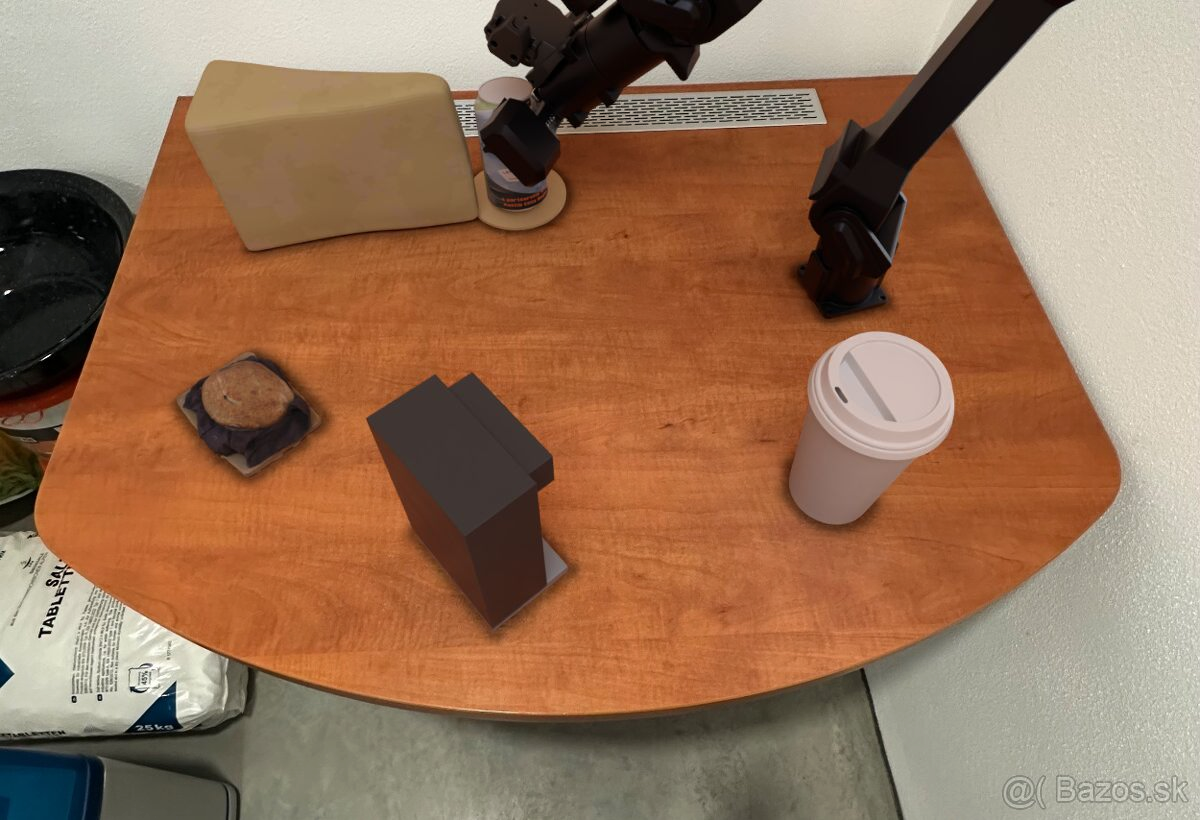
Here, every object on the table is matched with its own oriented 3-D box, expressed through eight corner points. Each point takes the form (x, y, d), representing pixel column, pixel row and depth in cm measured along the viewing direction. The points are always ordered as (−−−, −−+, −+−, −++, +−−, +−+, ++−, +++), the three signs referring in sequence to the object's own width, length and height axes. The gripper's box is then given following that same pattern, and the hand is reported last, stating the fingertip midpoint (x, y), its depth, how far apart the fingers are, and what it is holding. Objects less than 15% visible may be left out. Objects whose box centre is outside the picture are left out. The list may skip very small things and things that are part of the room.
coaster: (550, 155, 85) (550, 152, 85) (578, 218, 80) (578, 215, 80) (458, 173, 83) (457, 170, 83) (480, 239, 78) (480, 236, 78)
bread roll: (172, 407, 67) (151, 381, 64) (259, 349, 70) (243, 323, 67) (241, 485, 63) (223, 462, 60) (330, 421, 66) (317, 396, 63)
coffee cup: (764, 434, 66) (807, 318, 54) (879, 438, 66) (949, 324, 54) (774, 540, 61) (824, 440, 49) (899, 545, 61) (981, 446, 49)
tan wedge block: (482, 181, 82) (460, 46, 69) (476, 251, 77) (452, 118, 64) (265, 186, 82) (204, 50, 69) (245, 255, 76) (174, 123, 64)
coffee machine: (488, 481, 64) (461, 356, 50) (568, 571, 60) (564, 463, 46) (414, 533, 61) (365, 417, 47) (493, 631, 57) (464, 536, 43)
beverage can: (497, 227, 79) (482, 125, 68) (478, 179, 82) (461, 75, 72) (558, 212, 80) (552, 109, 70) (537, 165, 83) (528, 61, 73)
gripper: (588, -90, 66) (481, 11, 77) (490, 32, 56) (385, 127, 67) (670, 22, 71) (559, 101, 82) (594, 151, 61) (480, 221, 73)
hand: (499, 133), depth 76 cm, fingers closed on beverage can, 5 cm apart
